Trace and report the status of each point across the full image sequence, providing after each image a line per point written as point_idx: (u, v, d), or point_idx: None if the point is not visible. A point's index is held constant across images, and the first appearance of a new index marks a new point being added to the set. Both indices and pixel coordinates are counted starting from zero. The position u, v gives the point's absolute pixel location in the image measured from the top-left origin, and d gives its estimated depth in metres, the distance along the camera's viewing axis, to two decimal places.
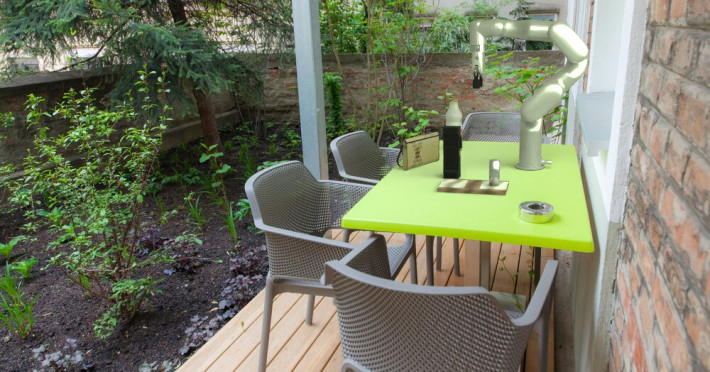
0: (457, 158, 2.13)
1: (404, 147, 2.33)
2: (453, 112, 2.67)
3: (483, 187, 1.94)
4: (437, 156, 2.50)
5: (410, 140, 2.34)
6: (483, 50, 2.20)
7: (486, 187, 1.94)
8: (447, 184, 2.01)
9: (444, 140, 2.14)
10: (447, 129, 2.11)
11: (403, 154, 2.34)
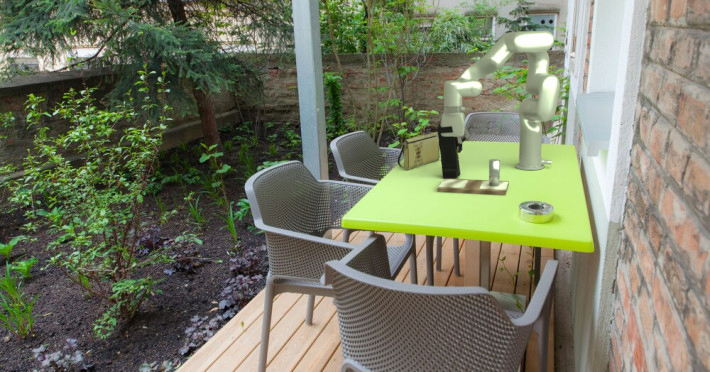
0: (454, 156, 2.14)
1: (405, 147, 2.33)
2: None
3: (483, 187, 1.94)
4: (437, 156, 2.50)
5: (411, 140, 2.34)
6: None
7: (486, 187, 1.94)
8: (447, 184, 2.01)
9: (440, 140, 2.15)
10: (441, 129, 2.12)
11: (404, 154, 2.34)
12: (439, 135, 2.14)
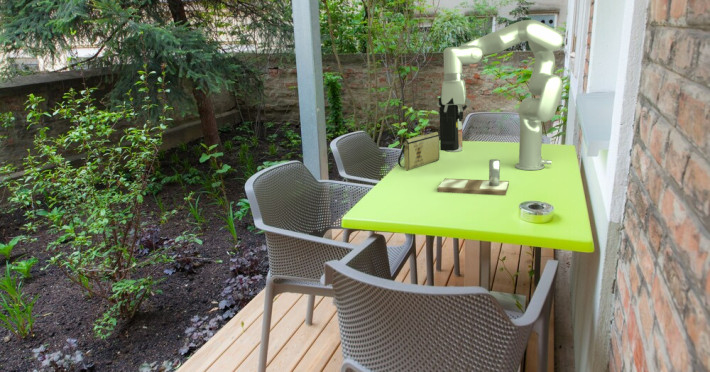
0: (453, 129, 2.11)
1: (406, 147, 2.32)
2: None
3: (483, 187, 1.94)
4: (437, 156, 2.50)
5: (411, 140, 2.34)
6: None
7: (486, 187, 1.94)
8: (447, 184, 2.01)
9: (440, 111, 2.12)
10: None
11: (405, 154, 2.34)
12: (440, 106, 2.12)
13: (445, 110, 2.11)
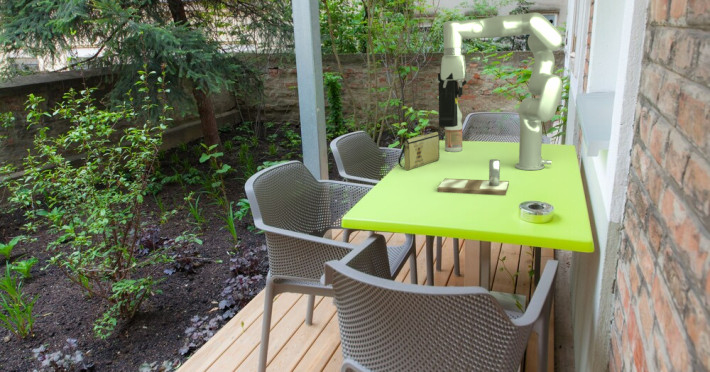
0: (452, 105, 2.08)
1: (406, 147, 2.32)
2: None
3: (483, 187, 1.94)
4: (437, 156, 2.50)
5: (412, 140, 2.33)
6: None
7: (486, 187, 1.94)
8: (447, 184, 2.01)
9: (439, 87, 2.10)
10: None
11: (405, 154, 2.34)
12: (439, 82, 2.09)
13: (444, 86, 2.08)
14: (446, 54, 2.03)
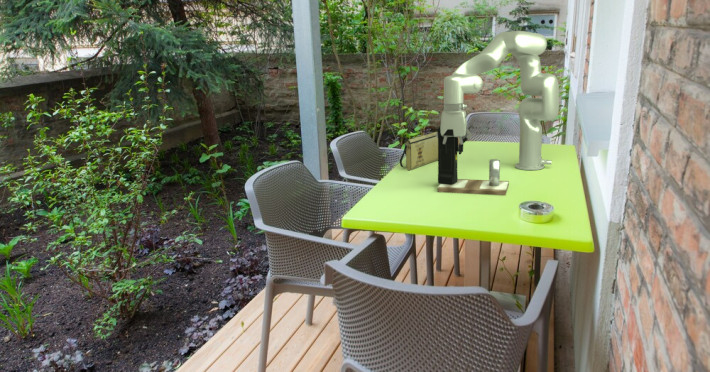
0: (452, 162, 1.98)
1: (408, 147, 2.32)
2: None
3: (483, 187, 1.94)
4: (437, 155, 2.51)
5: (413, 140, 2.33)
6: None
7: (486, 187, 1.94)
8: (447, 184, 2.01)
9: (439, 142, 1.99)
10: None
11: (406, 154, 2.33)
12: (439, 137, 1.99)
13: (444, 142, 1.98)
14: (446, 110, 1.93)
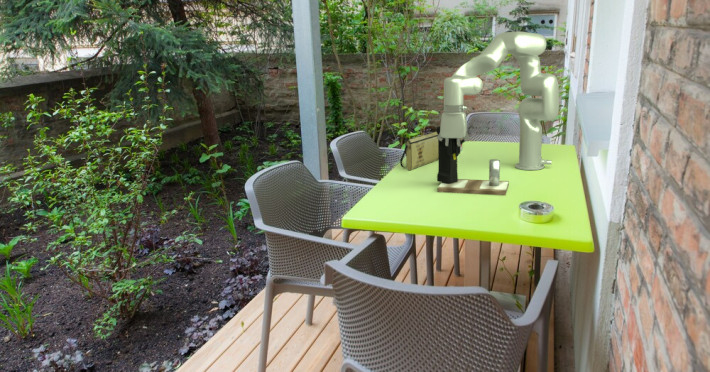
0: (449, 161, 2.00)
1: (408, 147, 2.32)
2: None
3: (483, 187, 1.94)
4: (437, 155, 2.51)
5: (414, 140, 2.33)
6: None
7: (486, 187, 1.94)
8: (447, 184, 2.01)
9: (439, 141, 2.02)
10: None
11: (407, 154, 2.33)
12: None
13: (447, 144, 1.98)
14: (446, 112, 1.93)
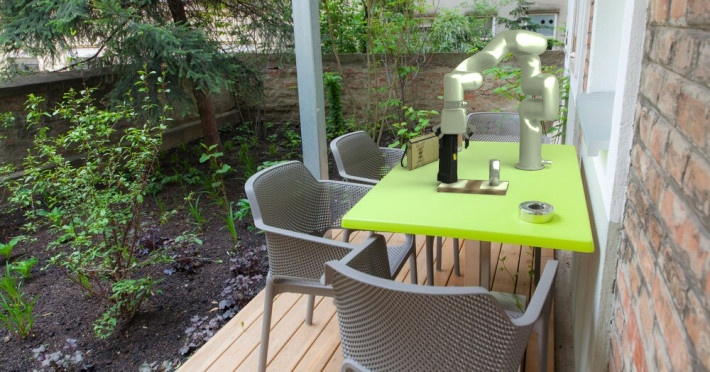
0: (449, 161, 2.00)
1: (408, 147, 2.32)
2: None
3: (483, 187, 1.94)
4: (437, 155, 2.51)
5: (414, 140, 2.33)
6: None
7: (486, 187, 1.94)
8: (447, 184, 2.01)
9: None
10: None
11: (407, 154, 2.33)
12: None
13: (439, 136, 1.98)
14: (446, 107, 1.93)
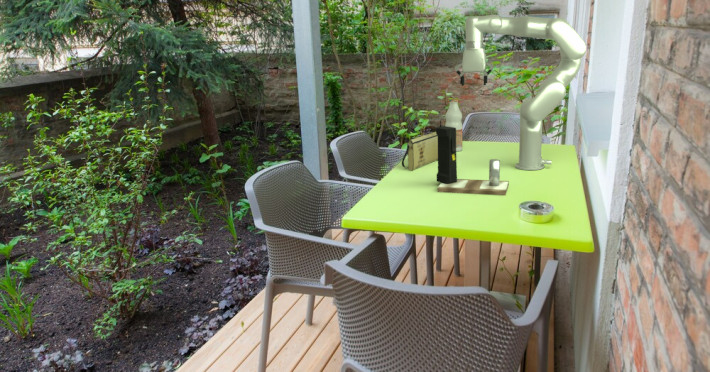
0: (448, 162, 2.00)
1: (410, 147, 2.31)
2: (453, 112, 2.67)
3: (483, 187, 1.94)
4: (437, 155, 2.51)
5: (415, 140, 2.33)
6: None
7: (486, 187, 1.94)
8: (447, 184, 2.01)
9: (438, 141, 2.02)
10: (439, 130, 1.99)
11: (409, 154, 2.33)
12: (438, 136, 2.02)
13: (461, 74, 2.23)
14: (468, 47, 2.17)
